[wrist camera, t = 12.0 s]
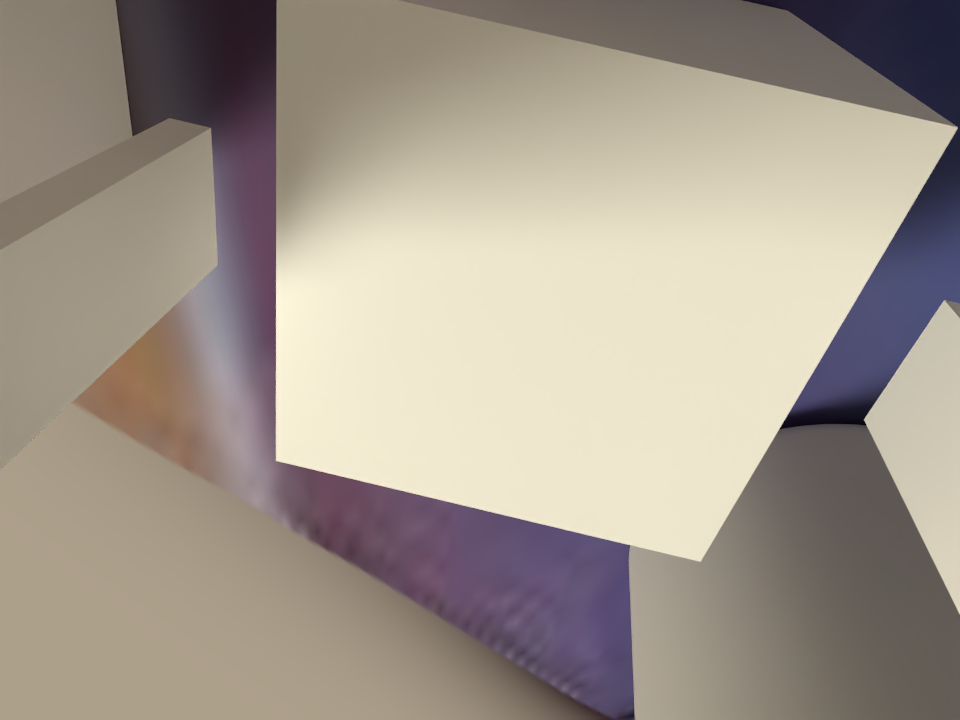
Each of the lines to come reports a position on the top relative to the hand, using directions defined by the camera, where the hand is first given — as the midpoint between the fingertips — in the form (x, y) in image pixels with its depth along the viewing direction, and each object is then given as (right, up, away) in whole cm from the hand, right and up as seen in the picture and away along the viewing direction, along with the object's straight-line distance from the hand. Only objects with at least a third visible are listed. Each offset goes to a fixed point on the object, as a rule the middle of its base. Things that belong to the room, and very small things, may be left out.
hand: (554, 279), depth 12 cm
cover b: (+1, +4, +5) cm, 7 cm away
